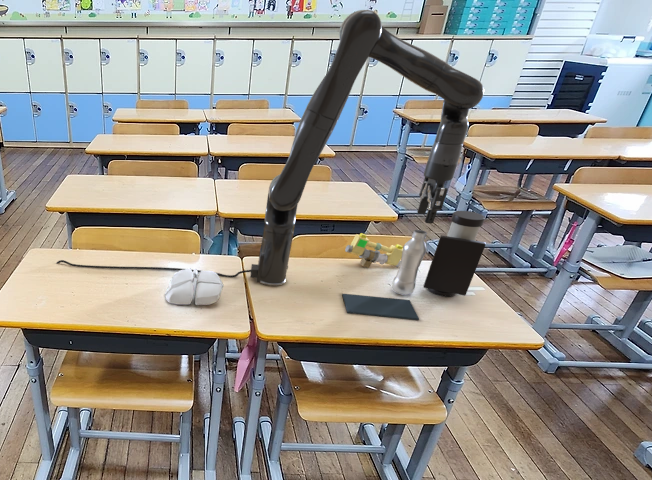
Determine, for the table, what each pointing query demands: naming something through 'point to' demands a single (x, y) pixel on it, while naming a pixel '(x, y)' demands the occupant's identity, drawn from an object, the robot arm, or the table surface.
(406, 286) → the plastic bottle
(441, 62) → the robot arm
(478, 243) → the light fixture
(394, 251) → the toy
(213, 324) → the table surface
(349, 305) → the mat
